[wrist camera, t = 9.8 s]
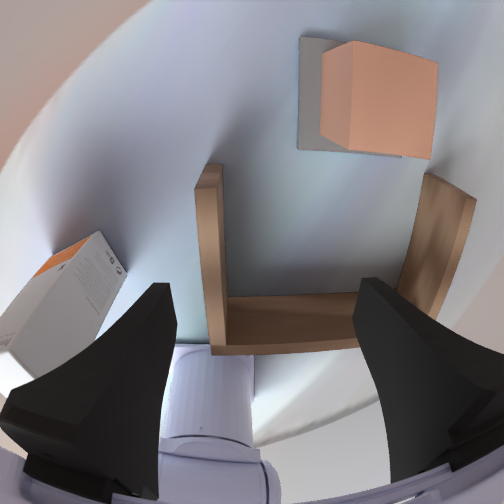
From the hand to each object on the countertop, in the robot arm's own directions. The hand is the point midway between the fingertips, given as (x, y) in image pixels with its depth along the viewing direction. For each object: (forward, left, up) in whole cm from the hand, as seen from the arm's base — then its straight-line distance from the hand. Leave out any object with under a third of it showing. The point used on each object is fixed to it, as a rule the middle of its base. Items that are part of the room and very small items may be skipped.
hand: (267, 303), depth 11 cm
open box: (-2, -5, -9) cm, 11 cm away
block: (+8, -6, -9) cm, 13 cm away
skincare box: (-4, +13, -10) cm, 17 cm away
